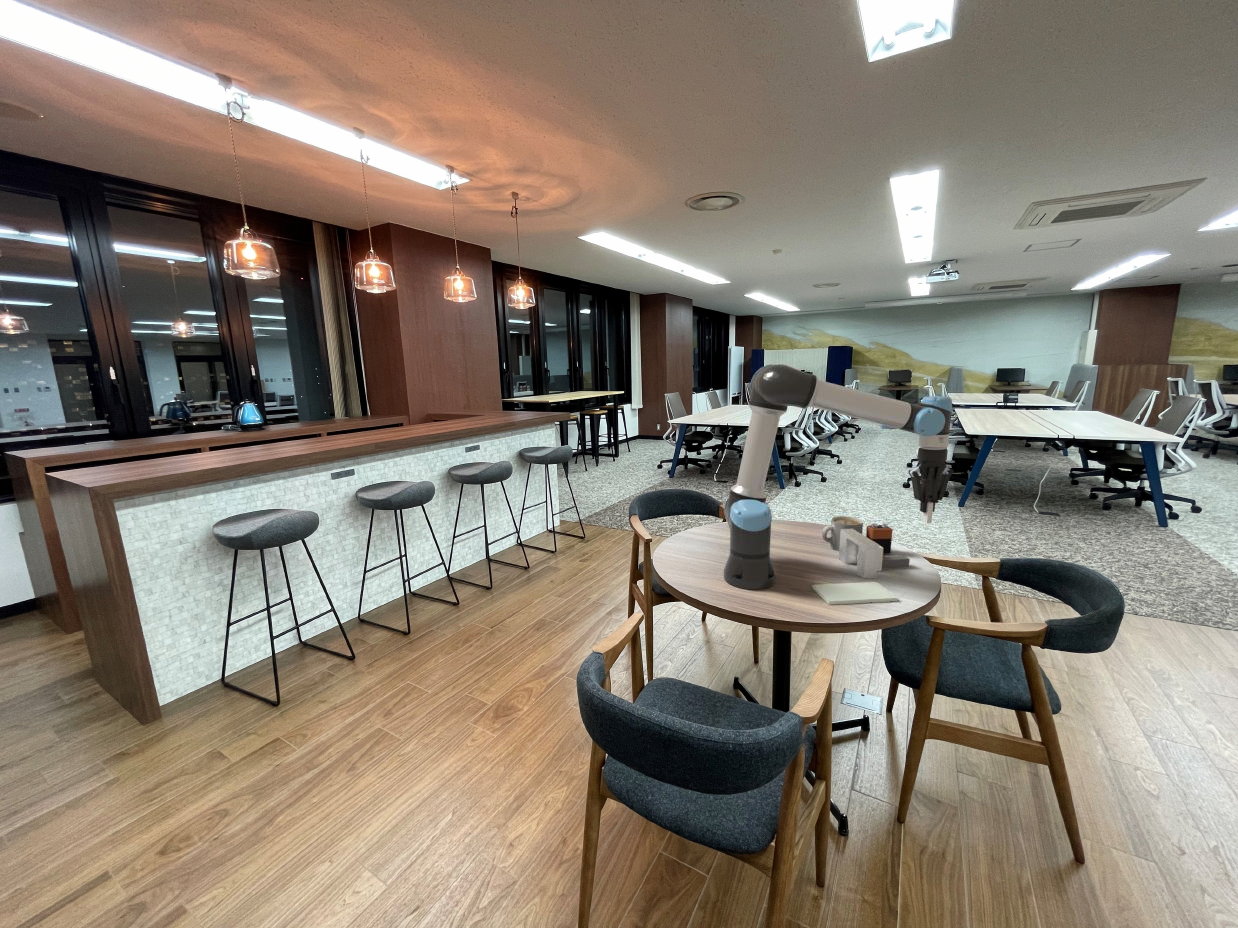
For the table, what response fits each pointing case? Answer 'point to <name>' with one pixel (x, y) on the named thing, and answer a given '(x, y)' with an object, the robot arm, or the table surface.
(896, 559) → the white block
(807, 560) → the table surface
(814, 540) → the table surface
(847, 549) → the grey arch block
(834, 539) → the coffee mug
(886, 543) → the battery
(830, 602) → the mat
